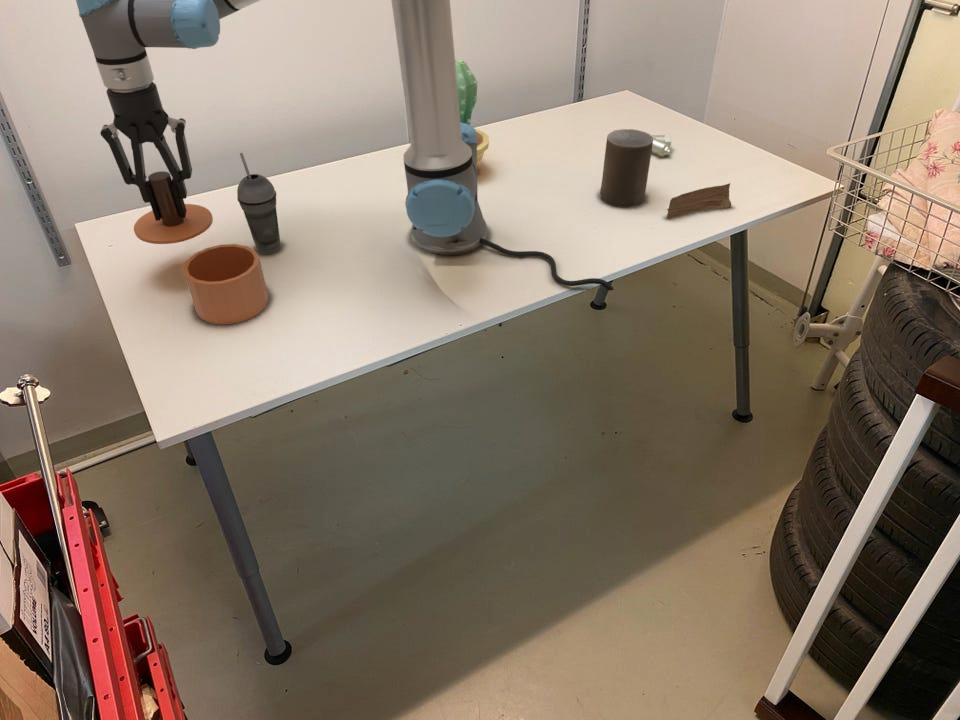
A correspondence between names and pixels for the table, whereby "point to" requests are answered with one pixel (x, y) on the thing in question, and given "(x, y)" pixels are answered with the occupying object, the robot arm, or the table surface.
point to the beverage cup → (260, 210)
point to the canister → (226, 283)
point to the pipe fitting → (661, 144)
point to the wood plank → (700, 200)
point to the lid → (170, 216)
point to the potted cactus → (469, 103)
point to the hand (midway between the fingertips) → (171, 215)
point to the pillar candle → (626, 167)
